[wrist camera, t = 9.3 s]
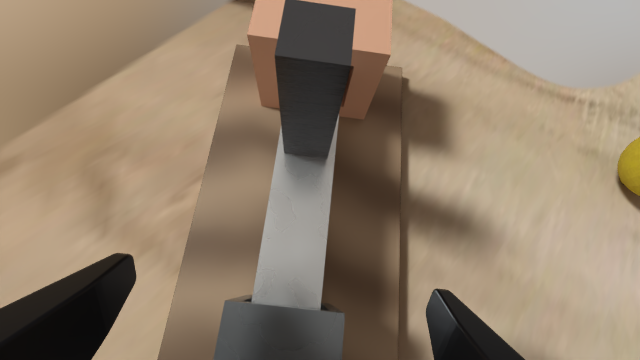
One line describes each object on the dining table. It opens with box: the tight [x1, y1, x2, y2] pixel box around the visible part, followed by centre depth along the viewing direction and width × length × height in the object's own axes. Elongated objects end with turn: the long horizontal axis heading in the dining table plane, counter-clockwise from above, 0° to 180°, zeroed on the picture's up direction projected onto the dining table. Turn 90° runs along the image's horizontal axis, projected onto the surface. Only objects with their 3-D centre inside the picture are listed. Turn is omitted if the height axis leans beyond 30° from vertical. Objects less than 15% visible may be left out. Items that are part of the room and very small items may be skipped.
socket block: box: [247, 0, 392, 120], centre depth 20 cm, size 5×8×7 cm, turn 84°
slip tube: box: [252, 0, 356, 310], centre depth 13 cm, size 23×3×11 cm, turn 174°
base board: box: [157, 45, 402, 360], centre depth 20 cm, size 34×14×1 cm, turn 174°
